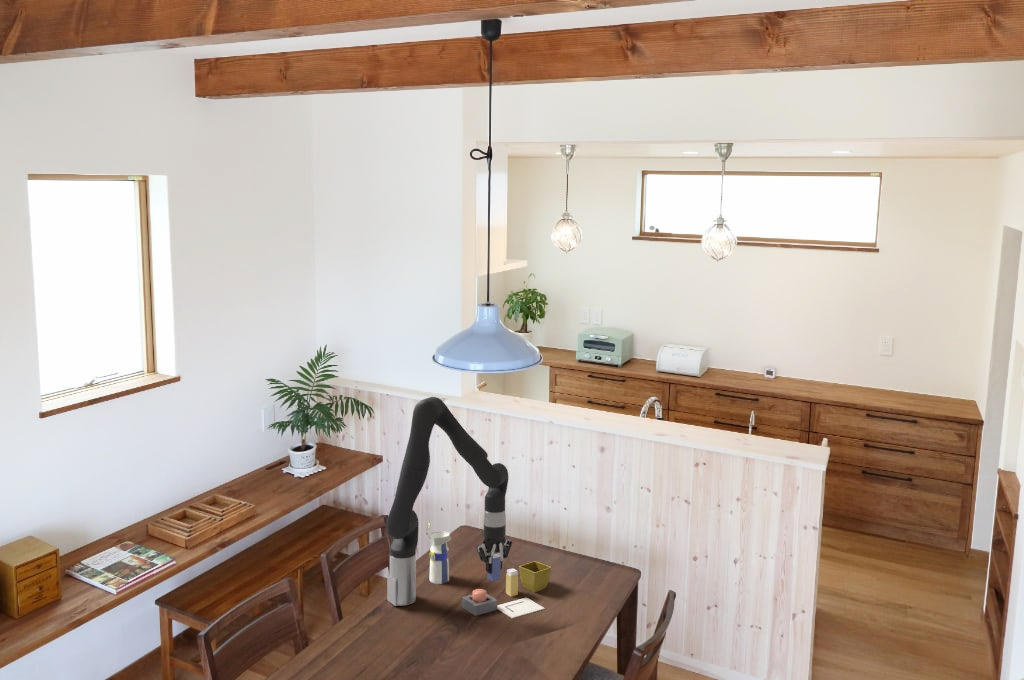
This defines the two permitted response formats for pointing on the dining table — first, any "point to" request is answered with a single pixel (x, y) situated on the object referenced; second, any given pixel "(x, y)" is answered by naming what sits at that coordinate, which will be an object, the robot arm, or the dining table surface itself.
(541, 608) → the paper pad
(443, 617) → the dining table surface
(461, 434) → the robot arm
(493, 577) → the block
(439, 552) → the water bottle
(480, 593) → the button
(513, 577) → the ochre marker
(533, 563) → the flower pot
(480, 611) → the button housing
